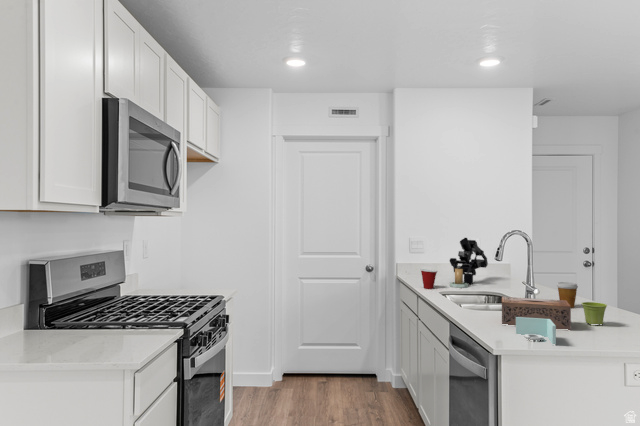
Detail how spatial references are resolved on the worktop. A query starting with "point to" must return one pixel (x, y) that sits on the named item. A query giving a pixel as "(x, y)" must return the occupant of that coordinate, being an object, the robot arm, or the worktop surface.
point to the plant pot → (594, 312)
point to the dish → (458, 285)
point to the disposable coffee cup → (567, 292)
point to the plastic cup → (428, 278)
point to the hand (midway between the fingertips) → (460, 272)
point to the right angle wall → (536, 328)
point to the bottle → (458, 275)
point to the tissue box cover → (536, 310)
